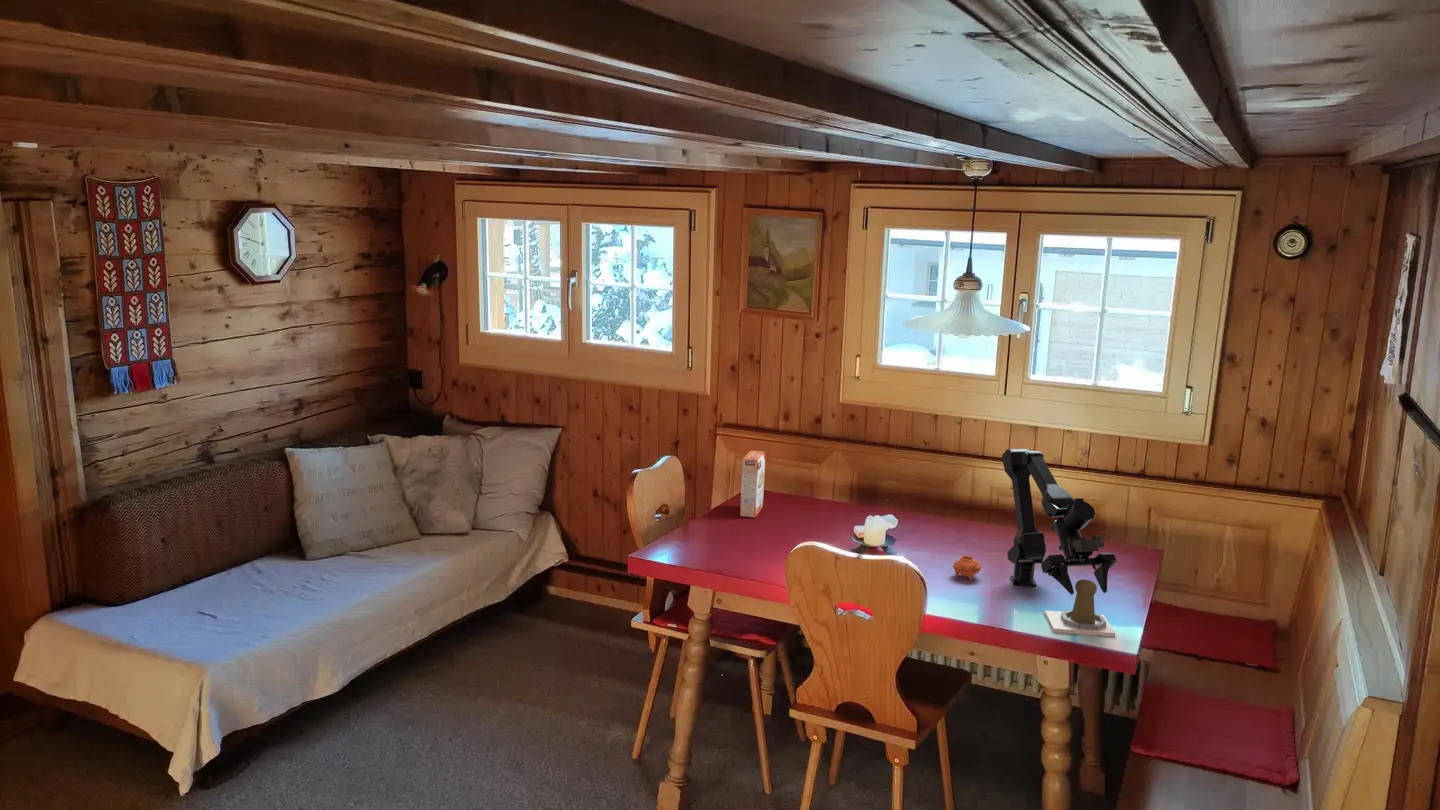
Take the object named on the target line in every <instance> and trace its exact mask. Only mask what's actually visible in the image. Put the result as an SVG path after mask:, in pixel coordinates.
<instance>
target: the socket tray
mask: <svg viewBox="0 0 1440 810" xmlns="http://www.w3.org/2000/svg"><path fill="white" fill-rule="evenodd" d="M1072 611H1073V608H1072V609H1067V610H1065V611H1058V610H1057V611H1056V610H1044V616H1045V618H1046V620H1047V622H1048V624H1049V626H1050V628H1051V630H1052V631H1053V633H1059V634H1074V635H1086V636H1097V635H1101V637H1110V636H1115V637H1116V632H1115V631H1114V629H1113V627H1112V626H1111V624H1110V622H1109V621H1108V620H1107V618H1106V616H1105V615H1104V614H1098V613H1096V612H1095V624H1082V623H1078V622H1075V621H1073V620H1070V619H1071V615H1072Z"/></svg>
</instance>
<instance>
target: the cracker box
mask: <svg viewBox="0 0 1440 810" xmlns="http://www.w3.org/2000/svg"><path fill="white" fill-rule="evenodd" d="M766 454H767V453H766V451H762V450H749V452H747V454H746V455H745V456H743V458H742V462H741V463H742V464H741V466H742V467H741V483H740V484H741V485H740V486H741V489H740V490H741V491H740V505H739V506H740V508H739V509H740V511H739V516H740V517H744V518H752V519H753V518H754V519H756V517H757V516H758V515H759V513H760V512H761V510H762V509H763V507H764V490H765V469H766V467H765V466H766Z"/></svg>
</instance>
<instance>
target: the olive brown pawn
mask: <svg viewBox="0 0 1440 810" xmlns="http://www.w3.org/2000/svg"><path fill="white" fill-rule="evenodd" d="M1074 588H1075V592H1076V596H1075V599H1074V603H1073V608H1072V609H1073V611H1072V615H1071V619H1070V620H1073V621H1075V622H1078V623H1082V624H1095V613H1096V612H1095V594H1096V593H1097V588H1098V587H1097V584H1096V583H1095V582H1094V581H1092V580H1090V579H1080V580H1077V581H1076V582H1075V587H1074Z"/></svg>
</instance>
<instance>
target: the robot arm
mask: <svg viewBox="0 0 1440 810" xmlns="http://www.w3.org/2000/svg"><path fill="white" fill-rule="evenodd" d="M1001 462H1002V464H1003V469H1004V472H1005V474H1007V476H1008V477H1009V478H1010V479H1011V485H1012V492H1013V499H1014V500H1013V501H1014V508H1015V509H1014V510H1015V516H1016V522H1017V531H1016V534H1015V535H1014V537H1013V545H1012V546H1011V548H1010V549H1009V550H1008V551H1007V560H1008V561H1009V562H1011V564H1013V574H1012V575H1009V578H1010V580H1011V582H1012V585H1017V586H1027V587H1028V586H1031V587H1037V586H1038V585H1037V582H1036V580H1035V570H1036V568H1035V567H1036V564H1041V571H1042V573H1043V574H1048V576H1049V577H1053V579H1055V581H1057V582H1058V583H1059V584H1060V585H1061V587H1063V588H1064V589H1065V590H1066V592H1067V593H1069V594H1070V595H1074V594H1075V590H1074V588H1073V584H1072V581H1071V577H1070V575H1069V572H1068V570H1069V569H1068V568H1069V567H1085V566H1087V567H1089V566H1091V567H1092V569H1093V575H1094V577H1095V578H1096V581H1097V584H1098V585H1099V588H1100V590H1101V591H1102V593H1103V594H1106V593H1107V592H1108V574H1109V570H1110V568H1112V567H1113V566H1114V565H1115V564H1116V563H1117V562H1118V559H1117V557H1116V555H1115V553H1113V552H1099V551H1100V549H1103V548H1104V547H1105V543H1104V539H1103V537H1102V535H1101V534H1099V535H1093V536H1091V538H1086V537H1085V536H1082V534H1081V530H1083V529H1084V528H1085V527H1086V526H1087V525H1088V524H1089V523H1090V522H1091V521H1092V520H1093V519H1094V518H1095V515H1096V511H1095V508H1094V507H1093V506H1092V505H1091V504H1090V503H1088V502H1087V501H1085V500H1084V498H1083V497H1075V498H1074V499H1073V497H1072V495H1071V494H1070V493H1069V492H1068V490H1066V489H1064V488H1062V487H1061V486H1060V485H1059V484H1058V482H1057V481H1056V479H1055V477H1054V475H1053V474H1052V471H1051V470H1050V468H1049V467H1048V465H1047V463H1046V461H1045V459H1044V454H1043V452H1042V451H1039V450H1031V451H1030V450H1029V449H1028V448H1008V449H1006V450H1005V452H1003V453H1002V455H1001ZM1030 477H1032V479H1033V480H1034V483H1035V484H1036V486H1037V488H1038V490H1039V492H1040V493H1041V496H1042V498H1041V501H1040V502H1041V503H1040V504H1041V506H1042V509H1043V512H1044V514H1045V515H1046V516H1047V517H1050V518H1056V517H1057V518H1058V519H1056V520H1053V523H1052V525H1051V531H1056V535H1057V538H1058V541H1059V544H1060V545H1059V546H1058V549H1059V551H1062V552H1063V553H1062V554H1059V553H1058V554H1048V556H1047V557H1046V558H1045V556H1046V553H1047V545H1046V542H1045V535H1044V533H1043V532H1040V531H1039V530H1038V528H1037V526H1036V520H1035V511H1034V504H1033V497H1032V488H1031V483H1030ZM1094 552H1099V553H1097V555H1096V556H1095V557H1090V556H1093V554H1094Z"/></svg>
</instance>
